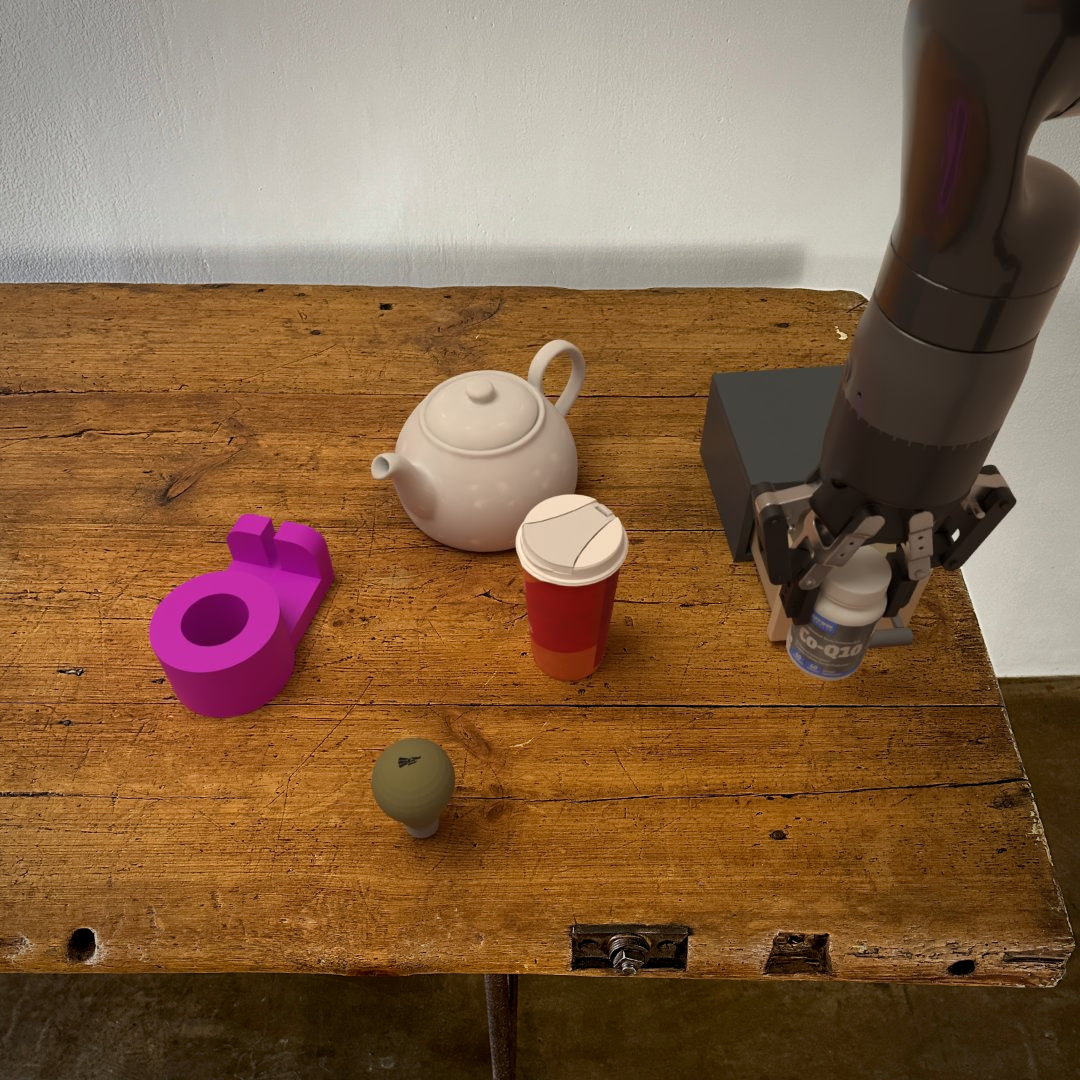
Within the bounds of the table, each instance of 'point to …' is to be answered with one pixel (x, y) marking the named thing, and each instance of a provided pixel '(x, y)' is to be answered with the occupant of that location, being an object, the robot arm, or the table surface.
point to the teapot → (485, 453)
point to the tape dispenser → (242, 618)
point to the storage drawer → (888, 629)
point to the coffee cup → (570, 581)
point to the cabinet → (763, 437)
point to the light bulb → (414, 784)
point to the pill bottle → (842, 617)
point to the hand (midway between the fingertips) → (840, 609)
